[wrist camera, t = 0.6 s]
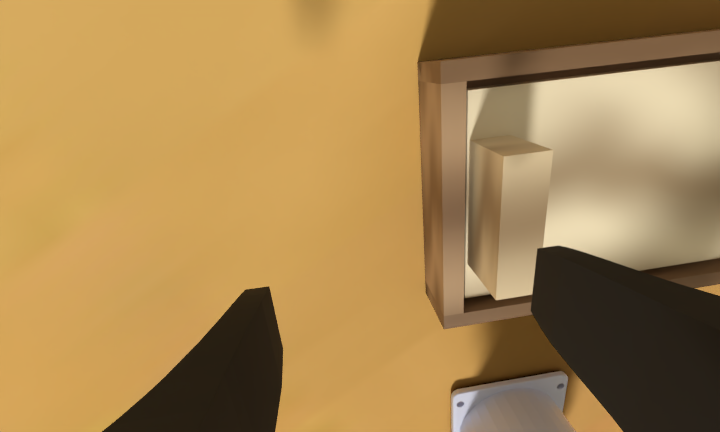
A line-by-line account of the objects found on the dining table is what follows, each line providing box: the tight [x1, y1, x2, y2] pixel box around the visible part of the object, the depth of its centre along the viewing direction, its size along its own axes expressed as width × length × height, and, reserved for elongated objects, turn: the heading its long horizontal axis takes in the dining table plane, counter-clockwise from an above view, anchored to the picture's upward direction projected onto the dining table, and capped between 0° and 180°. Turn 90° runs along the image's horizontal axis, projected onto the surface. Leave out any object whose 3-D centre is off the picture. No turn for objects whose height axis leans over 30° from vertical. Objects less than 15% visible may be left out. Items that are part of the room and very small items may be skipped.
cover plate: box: [464, 59, 720, 300], centre depth 16 cm, size 10×15×4 cm, turn 96°
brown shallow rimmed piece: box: [418, 29, 720, 329], centre depth 18 cm, size 12×17×3 cm
